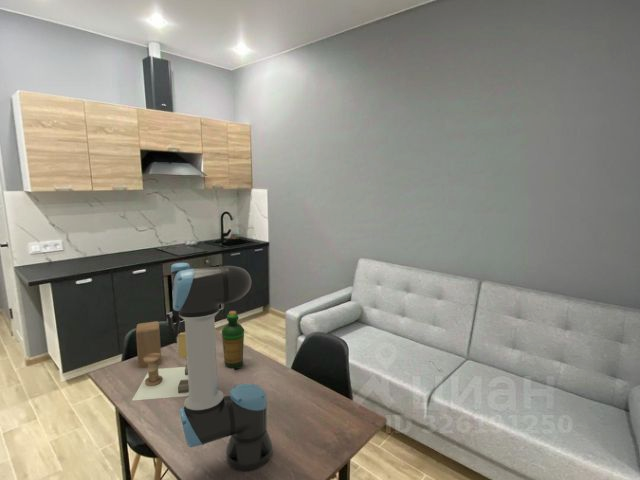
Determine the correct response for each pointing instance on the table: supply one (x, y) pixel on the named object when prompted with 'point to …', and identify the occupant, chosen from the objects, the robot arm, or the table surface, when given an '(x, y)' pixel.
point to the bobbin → (153, 369)
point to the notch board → (184, 384)
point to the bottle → (233, 342)
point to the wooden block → (147, 341)
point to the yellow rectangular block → (182, 345)
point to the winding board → (163, 385)
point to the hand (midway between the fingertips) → (184, 349)
